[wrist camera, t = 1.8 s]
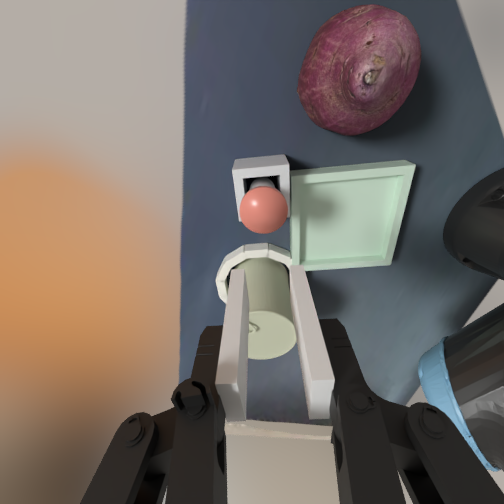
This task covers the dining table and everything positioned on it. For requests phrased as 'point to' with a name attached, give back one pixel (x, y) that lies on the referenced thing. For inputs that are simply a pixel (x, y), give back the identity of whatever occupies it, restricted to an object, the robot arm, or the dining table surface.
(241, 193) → the button post
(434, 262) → the dining table surface
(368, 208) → the tray
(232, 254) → the socket ring
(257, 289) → the can
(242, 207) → the button
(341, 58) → the vegetable
